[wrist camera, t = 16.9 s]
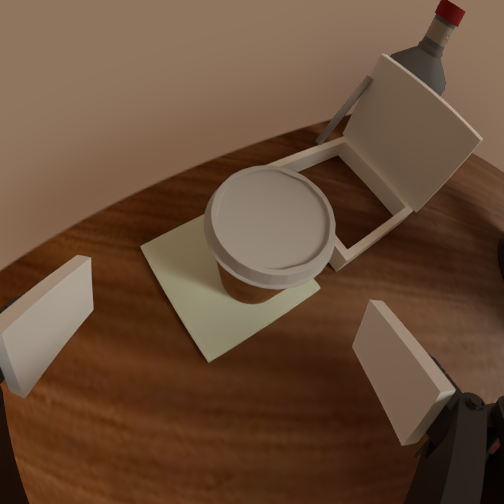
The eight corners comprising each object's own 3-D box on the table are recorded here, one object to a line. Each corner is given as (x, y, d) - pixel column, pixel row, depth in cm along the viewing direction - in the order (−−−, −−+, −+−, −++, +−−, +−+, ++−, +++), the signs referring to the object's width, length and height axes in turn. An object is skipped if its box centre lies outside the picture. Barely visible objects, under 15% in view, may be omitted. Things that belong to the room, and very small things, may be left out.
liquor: (404, 149, 47) (483, 24, 21) (388, 169, 44) (481, 22, 17) (366, 120, 49) (430, -9, 23) (345, 136, 45) (417, -17, 19)
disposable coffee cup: (313, 284, 31) (366, 232, 20) (243, 339, 28) (266, 314, 17) (257, 218, 33) (281, 144, 22) (186, 264, 30) (175, 198, 19)
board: (246, 198, 36) (247, 193, 35) (317, 291, 32) (320, 287, 31) (141, 250, 31) (140, 246, 30) (208, 362, 27) (208, 362, 26)
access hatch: (338, 144, 44) (383, 52, 28) (408, 220, 39) (483, 139, 23) (258, 175, 38) (290, 54, 22) (338, 275, 33) (433, 176, 17)
